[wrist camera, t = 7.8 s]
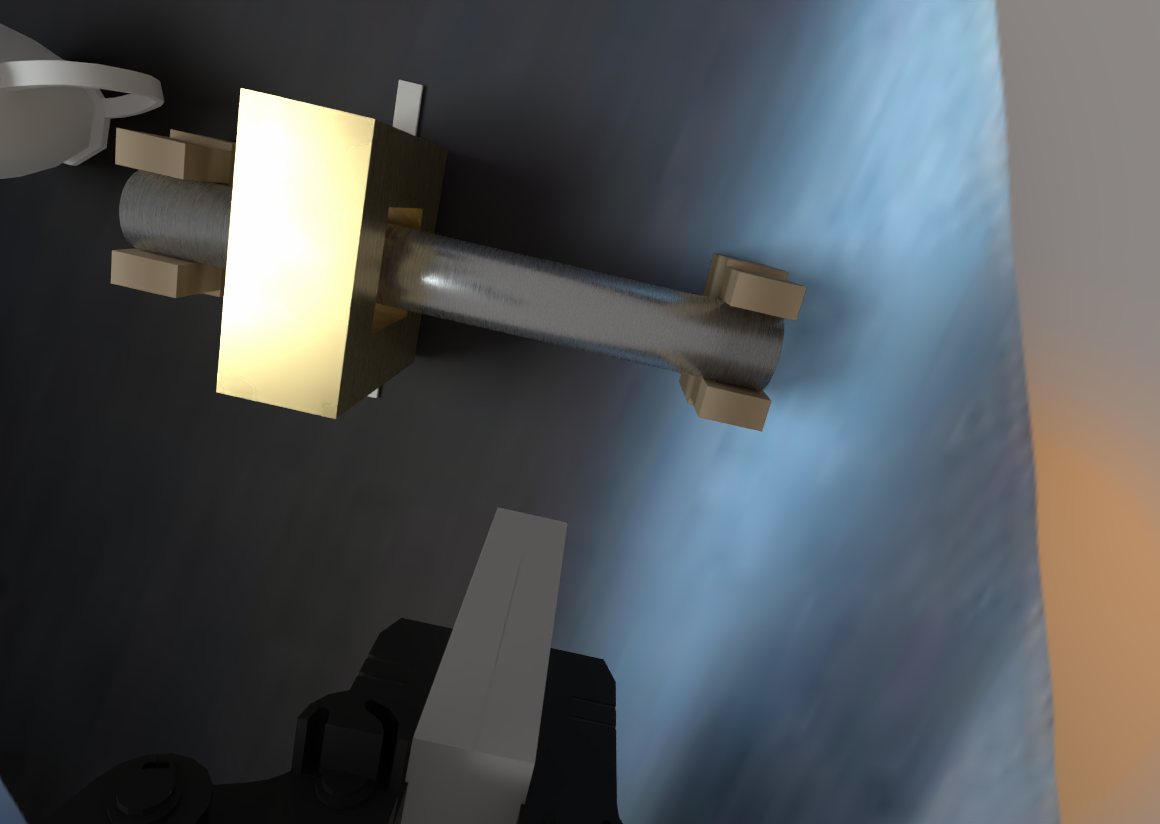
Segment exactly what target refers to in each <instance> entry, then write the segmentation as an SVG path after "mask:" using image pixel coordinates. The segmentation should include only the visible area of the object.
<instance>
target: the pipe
mask: <svg viewBox="0 0 1160 824" xmlns="http://www.w3.org/2000/svg"><path fill="white" fill-rule="evenodd" d="M232 192H233V187H228V186H224V185H220V184H215V183H211V182H205V181H194V180H183V179H179V178H174V177H170V176H166V175H161V174H157V173H153V172H148V171H144V170H138V171H136V172H135V173H134V174H133V175H132V176H131V177H130V178H129V179H128V181H127V182H126V184H125V186H124V189H123V191H122V195H121V199H120V206H119V217H120V224H121V228H122V231H123V233H124V236H125V237H126V239H127V240H128V242H129V243H130V244H131V245H132V246H134V247H135V248H137V249H141V250H145V251H150V252H154V253H159V254H163V255H167V256H172V257H176V258H180V259H185V260H189V261H194V262H198V263H202V264H207V265H211V266H215V267H220V268H224V269H226V267H227V254H228V242H229V229H230V217H231V204H232ZM376 303H377V304H382V305H386V306H390V307H395V308H399V309H403V310H408V311H412V312H416V313H421V314H425V315H430V316H434V317H438V318H443V319H447V320H451V321H456V322H460V323H465V324H469V325H473V326H478V327H482V328H486V329H491V330H495V331H500V332H504V333H508V334H513V335H517V336H521V337H526V338H530V339H535V340H539V341H543V342H548V343H552V344H556V345H561V346H565V347H569V348H574V349H578V350H583V351H587V352H591V353H596V354H600V355H604V356H609V357H613V358H618V359H622V360H626V361H631V362H635V363H639V364H644V365H648V366H653V367H657V368H661V369H666V370H670V371H674V372H679V373H683V374H688V375H692V376H696V377H701V378H705V379H709V380H714V381H718V382H723V383H727V384H731V385H736V386H740V387H744V388H749V389H753V390H757V391H762V390H764V389H765V387H766V386H767V385H768V383H769V381H770V380H771V378H772V376H773V373H774V371H775V368H776V366H777V362H778V359H779V356H780V352H781V348H782V343H783V336H784V319H783V318H781V317H777V316H773V315H768V314H764V313H760V312H755V311H751V310H747V309H742V308H738V307H734V306H730V305H729V304H727V303H726V302H725V301H723V300H718V299H714V298H710V297H705V296H701V295H697V294H692V293H688V292H684V291H679V290H675V289H671V288H666V287H662V286H658V285H653V284H649V283H645V282H640V281H636V280H631V279H627V278H623V277H618V276H614V275H610V274H605V273H601V272H597V271H592V270H588V269H584V268H579V267H575V266H571V265H566V264H562V263H558V262H553V261H549V260H545V259H540V258H536V257H532V256H527V255H523V254H519V253H514V252H510V251H506V250H501V249H497V248H493V247H488V246H484V245H480V244H475V243H471V242H467V241H462V240H458V239H454V238H449V237H445V236H441V235H436V234H432V233H428V232H423V231H419V230H415V229H410V228H406V227H402V226H397V225H393V224H389V223H387V226H386V233H385V240H384V247H383V254H382V261H381V268H380V275H379V283H378V290H377V297H376Z"/></svg>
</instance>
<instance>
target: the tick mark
mask: <svg viewBox="0 0 1160 824" xmlns="http://www.w3.org/2000/svg"><path fill="white" fill-rule="evenodd" d="M422 93H423V85H419V84H415V83H411V82H406V81H402V80H399V84H398V91H397V98H396V106H395V113H394V120H393V127H395V128H398V129H400V130H402V131H405V132H407V133H410V134H412V135H414V136H416V134H417V127H418V120H419V113H420V106H421V100H422ZM378 392H379V388H378V389H376V390H375V391H374V392H372V393H371V394H369V395H368V396H369V397H374V398H377V397H378Z"/></svg>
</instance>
